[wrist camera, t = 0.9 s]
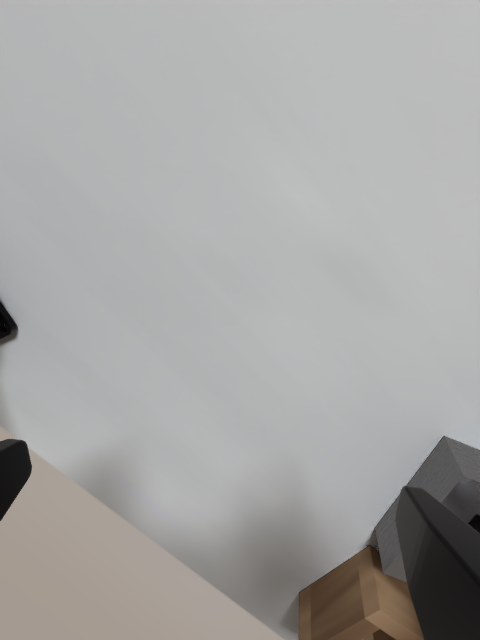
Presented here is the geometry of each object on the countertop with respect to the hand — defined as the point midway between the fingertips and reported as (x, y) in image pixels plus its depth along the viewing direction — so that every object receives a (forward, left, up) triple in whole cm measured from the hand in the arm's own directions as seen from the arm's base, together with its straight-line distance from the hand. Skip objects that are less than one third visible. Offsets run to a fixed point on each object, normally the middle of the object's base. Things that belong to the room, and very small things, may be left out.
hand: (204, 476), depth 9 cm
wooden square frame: (-2, -23, -12) cm, 26 cm away
